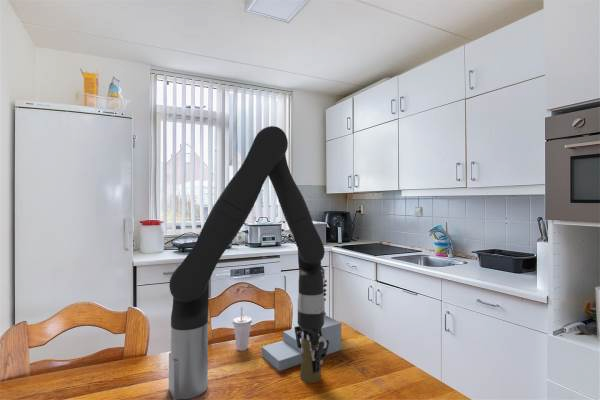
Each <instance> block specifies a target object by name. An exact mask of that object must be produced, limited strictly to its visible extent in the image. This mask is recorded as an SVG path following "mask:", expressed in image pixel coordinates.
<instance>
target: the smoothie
mask: <svg viewBox="0 0 600 400" xmlns="http://www.w3.org/2000/svg"><path fill="white" fill-rule="evenodd" d="M252 320H253V319H252V318H251V317H250V316H245V315H244V316H243V306H241V307H240V316H237V317H235V318H233V319H232V325H233V329H234V337H235V346H236V350H237V351H239V350H240V352H243V350H244V351H247V350H246V349H247V348H248V347H249V340H250V333H251V332H250V331H251V326H252V325H251V324H252Z"/></svg>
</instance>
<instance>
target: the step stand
mask: <svg viewBox="0 0 600 400" xmlns="http://www.w3.org/2000/svg"><path fill="white" fill-rule="evenodd" d="M321 332H322V337H323V339H324V340H328V341H329V346H328V350H327V354H326V356H328V355H330V354H333V353H337V352H339V351H342V322H340V321H338V320H336V319H335V318H332V317H330V316H328V315H327V314H326V315H324V325H323V327H322V328H321ZM282 337H283V338H282V340H281V341H277V342H274V343H269V344H265V345H262V346H261V357H262V358H263V359H264V360H266V362H267V363H269V364H270V365H271V366H272V367H274V369H276V370H277V371H278V372H281V371H283V370H287V369H290V368H292V367H296V366H298V365H302V352H301V349H300V348H298V346H297V340H296V334H295V328H292V329H288V330H283V331H282ZM300 343H301V339H300Z"/></svg>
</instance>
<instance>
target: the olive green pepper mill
mask: <svg viewBox="0 0 600 400" xmlns="http://www.w3.org/2000/svg"><path fill="white" fill-rule="evenodd" d="M318 344H319V343H318ZM317 347H318V345H315V346H314V345H313V348H317ZM302 348H303V358H302V364H301V366H300V374H299V377H300V380H301V381H303V382H305V383H310V384H313V383H318V382H319V381H321V380H322V371H321V368H320V371H319V372H316V373H314V374H313V369H312V355H311V352H310V345H309V342H308V341H307V338H305V339H303V340H302ZM315 355H317V351H315Z"/></svg>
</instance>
